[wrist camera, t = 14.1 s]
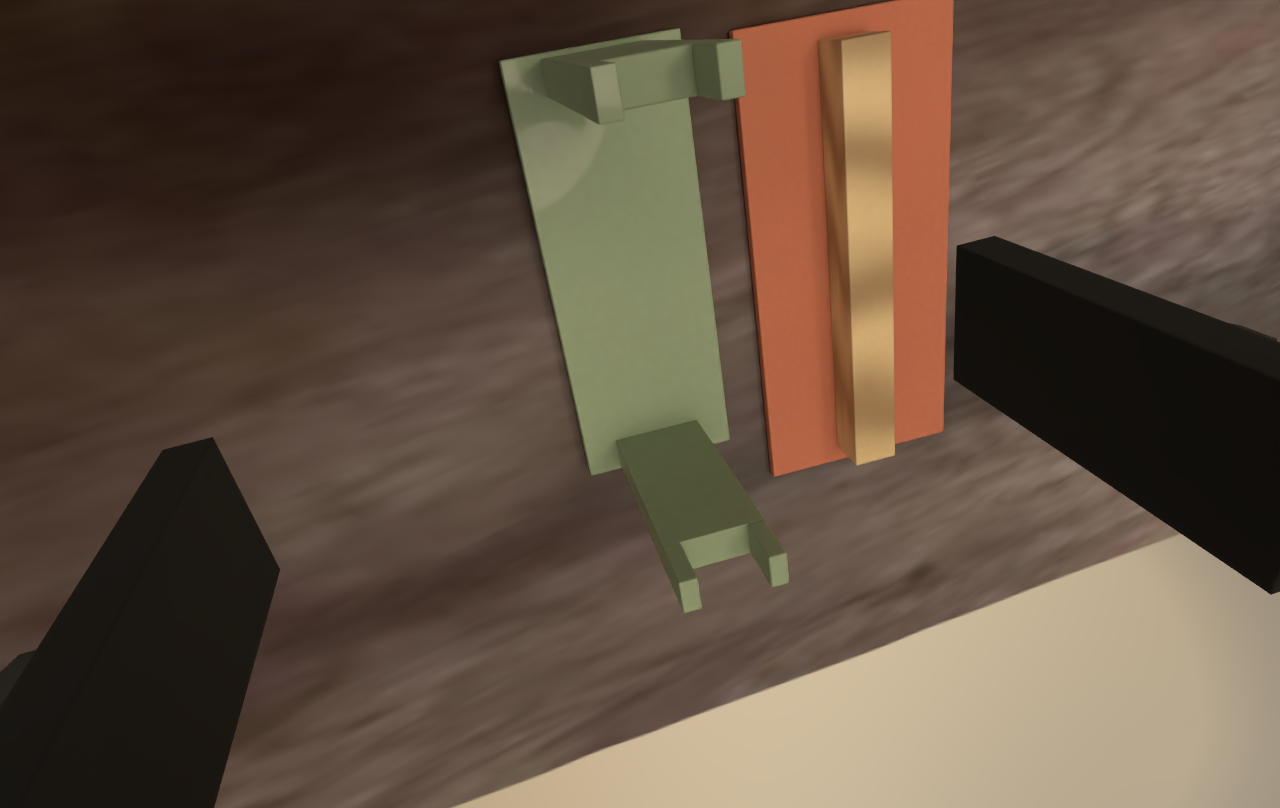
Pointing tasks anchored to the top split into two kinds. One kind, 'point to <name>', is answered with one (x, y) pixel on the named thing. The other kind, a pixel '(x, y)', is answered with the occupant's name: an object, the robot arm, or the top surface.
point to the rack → (639, 280)
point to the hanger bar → (860, 237)
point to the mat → (797, 220)
